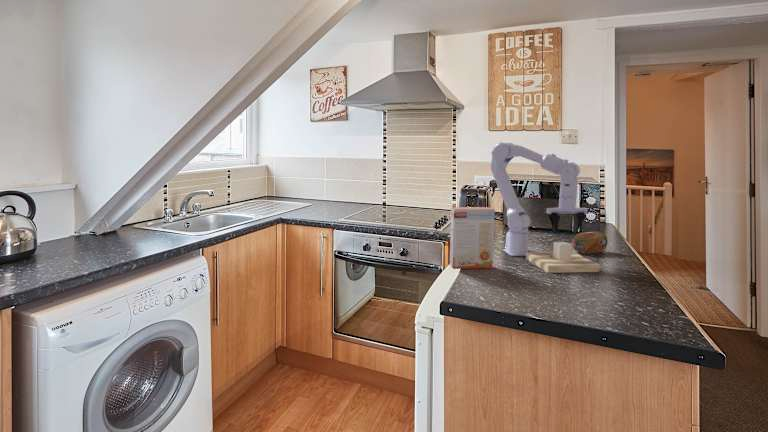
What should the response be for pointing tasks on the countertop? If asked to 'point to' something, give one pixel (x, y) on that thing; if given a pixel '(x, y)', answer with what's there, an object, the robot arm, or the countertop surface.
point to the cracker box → (472, 237)
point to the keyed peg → (562, 251)
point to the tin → (589, 242)
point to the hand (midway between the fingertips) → (565, 233)
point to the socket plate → (562, 263)
